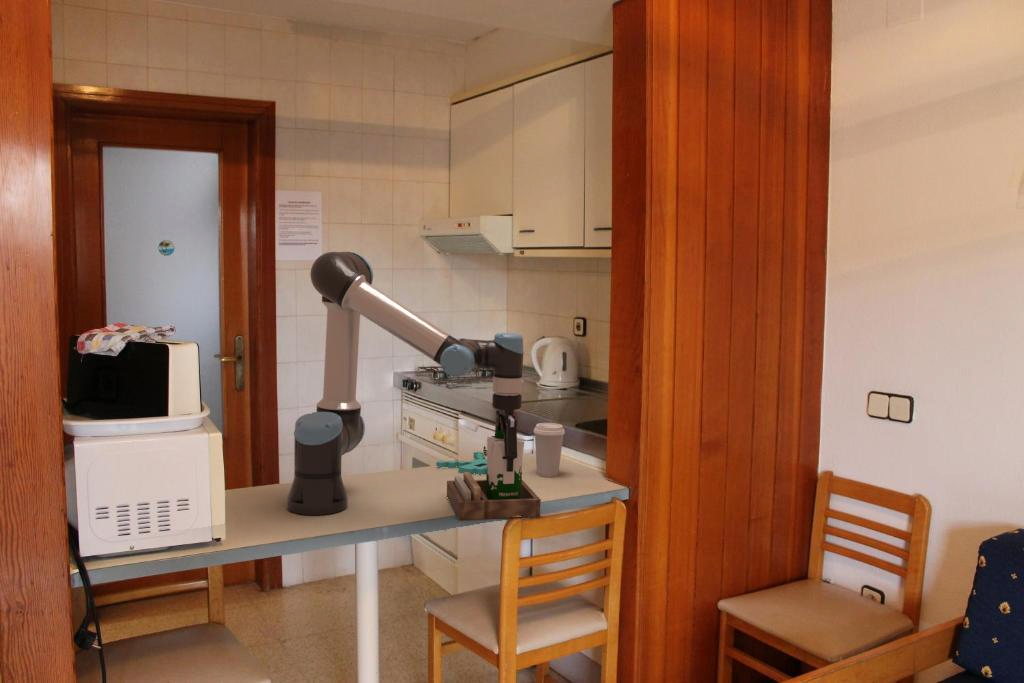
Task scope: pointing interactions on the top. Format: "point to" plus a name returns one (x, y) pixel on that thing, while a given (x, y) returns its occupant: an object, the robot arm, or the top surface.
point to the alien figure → (468, 464)
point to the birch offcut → (472, 486)
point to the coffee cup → (548, 448)
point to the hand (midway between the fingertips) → (504, 478)
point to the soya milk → (495, 469)
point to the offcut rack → (494, 504)
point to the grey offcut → (462, 488)
